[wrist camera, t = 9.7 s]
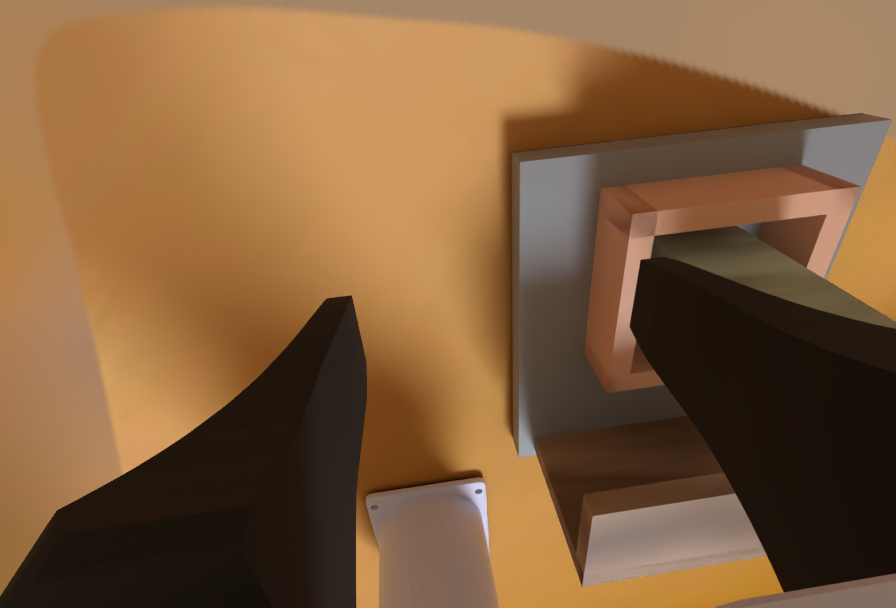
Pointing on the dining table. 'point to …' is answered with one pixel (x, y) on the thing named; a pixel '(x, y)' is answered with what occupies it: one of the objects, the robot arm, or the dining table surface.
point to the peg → (762, 270)
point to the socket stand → (631, 239)
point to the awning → (643, 501)
